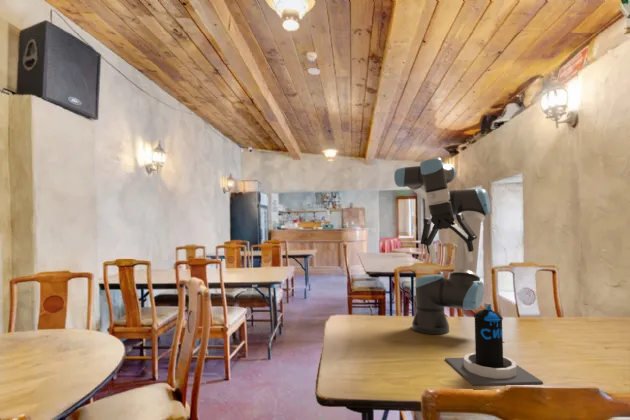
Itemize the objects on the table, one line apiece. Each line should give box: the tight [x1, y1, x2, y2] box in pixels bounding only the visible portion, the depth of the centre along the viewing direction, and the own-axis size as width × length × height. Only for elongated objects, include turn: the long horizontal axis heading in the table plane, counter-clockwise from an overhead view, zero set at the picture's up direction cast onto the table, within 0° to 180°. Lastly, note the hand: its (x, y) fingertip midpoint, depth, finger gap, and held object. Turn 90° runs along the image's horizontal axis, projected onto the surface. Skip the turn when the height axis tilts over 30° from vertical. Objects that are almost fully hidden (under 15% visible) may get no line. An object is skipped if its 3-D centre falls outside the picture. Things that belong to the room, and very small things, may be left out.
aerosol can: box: [473, 302, 504, 368], centre depth 115 cm, size 8×8×20 cm
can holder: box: [444, 352, 544, 387], centre depth 115 cm, size 20×20×3 cm
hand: (452, 261), depth 131 cm, fingers open, 13 cm apart
